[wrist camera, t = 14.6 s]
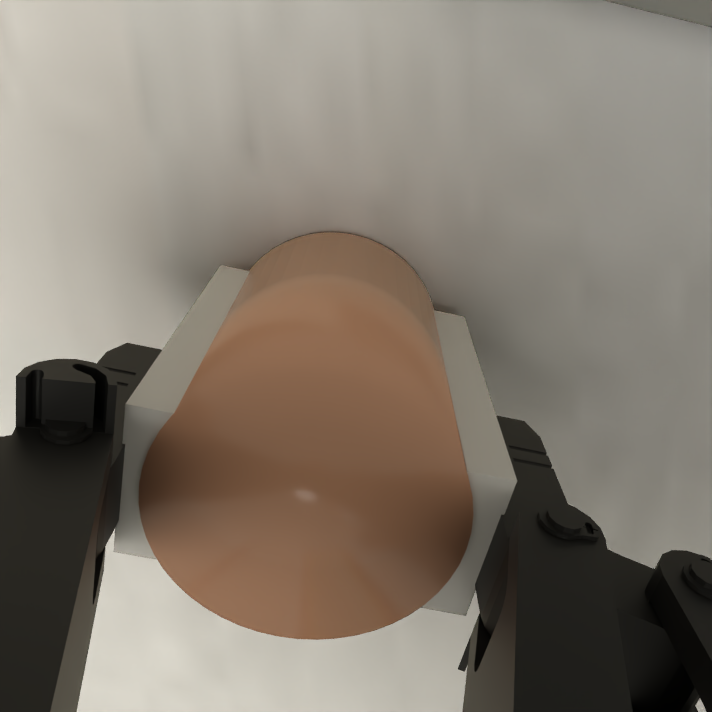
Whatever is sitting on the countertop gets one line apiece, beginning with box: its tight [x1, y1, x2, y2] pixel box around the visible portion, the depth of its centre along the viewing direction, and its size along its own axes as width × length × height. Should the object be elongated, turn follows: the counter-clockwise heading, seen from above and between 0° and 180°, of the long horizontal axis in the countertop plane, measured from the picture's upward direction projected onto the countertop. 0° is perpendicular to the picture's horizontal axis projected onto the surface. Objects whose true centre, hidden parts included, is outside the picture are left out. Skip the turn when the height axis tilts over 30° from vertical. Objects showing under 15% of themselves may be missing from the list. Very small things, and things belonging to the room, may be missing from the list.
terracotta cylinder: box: [139, 232, 473, 640], centre depth 13 cm, size 5×5×7 cm
